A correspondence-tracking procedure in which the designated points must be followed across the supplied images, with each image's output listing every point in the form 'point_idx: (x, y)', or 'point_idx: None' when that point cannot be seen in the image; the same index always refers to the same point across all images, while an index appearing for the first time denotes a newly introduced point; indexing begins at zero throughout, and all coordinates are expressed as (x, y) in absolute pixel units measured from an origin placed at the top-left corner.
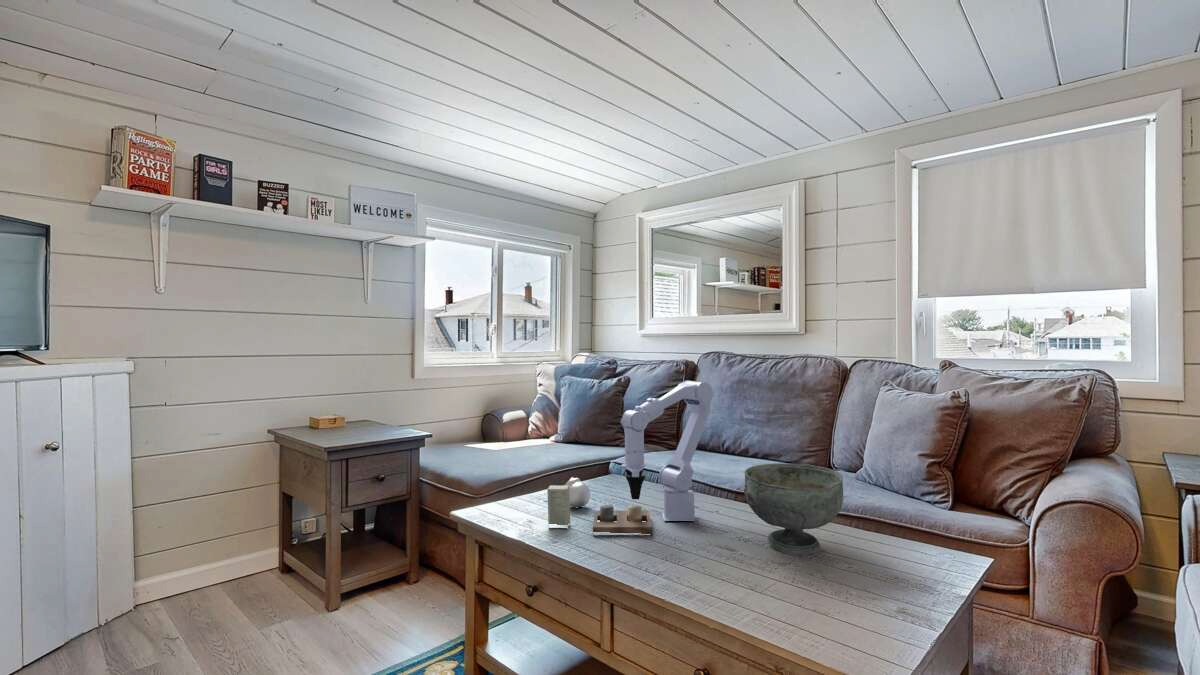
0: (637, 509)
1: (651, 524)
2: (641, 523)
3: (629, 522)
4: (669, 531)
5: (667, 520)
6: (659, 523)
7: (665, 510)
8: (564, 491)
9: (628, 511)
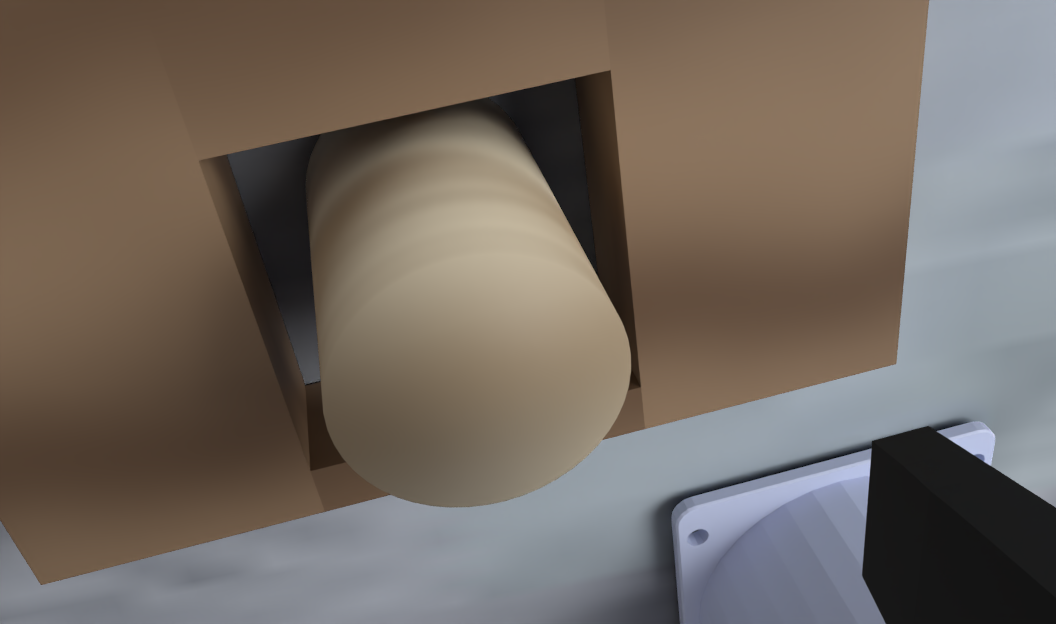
0: (347, 455)
1: (169, 551)
2: (167, 416)
3: (156, 214)
4: (323, 611)
5: (676, 544)
6: (623, 456)
7: (826, 580)
8: None
9: (412, 218)
